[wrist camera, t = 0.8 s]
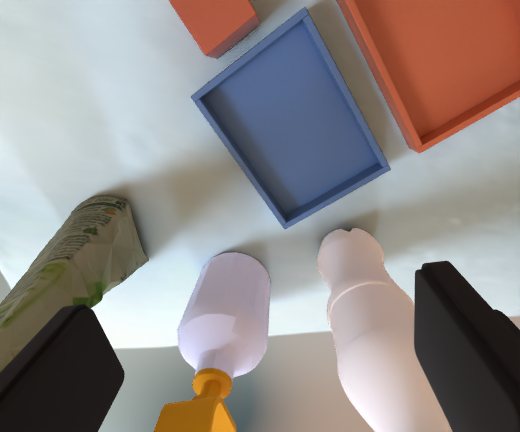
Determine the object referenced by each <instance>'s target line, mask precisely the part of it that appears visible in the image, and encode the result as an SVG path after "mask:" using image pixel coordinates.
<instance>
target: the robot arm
mask: <svg viewBox="0 0 520 432" xmlns="http://www.w3.org/2000/svg"><path fill="white" fill-rule="evenodd" d="M414 349H415V353H416V356H417V359H418V361H419V363H420V365H421V367H422V369H423V371H424V373H425V375H426V377H427V380H428V382H429V384H430V386H431V388H432V390H433V392H434V394H435V396H436V398H437V400H438V402H439V404H440V406H441V408H442V410H443V412H444V415H445V417H446V419H447V421H448V423H449V425H450V427H451V429H452V431H453V432H520V330H519V329H518V328H517V327H516V326H515V324H513V322H512V321H511V320H510V319H509V318H508V317H507V316H506V315H505V314H503V313H502V312H501V311H498V310H493V309H492V308H491V307H490V306H489V305H488V303H487V302H486V301H485V300H484V299H483V298H482V297H481V296H480V295H479V294H478V293H477V291H476V290H475V289H474V288H473V287H472V286H471V285H470V284H469V283H468V282H467V280H466V279H465V278H464V277H463V276H462V275H461V274H460V273H459V272H458V271H457V270H456V268H455V267H454V266H453V265H452V264H451V263H450V262H449V261H440V262H432V263H424V264H423V265H422V269H421V270H416V272H415V309H414ZM123 381H124V370H123V368H122V366H121V364H120V362H119V360H118V358H117V356H116V354H115V352H114V350H113V348H112V346H111V344H110V342H109V340H108V338H107V337H106V335H105V333H104V331H103V329H102V327H101V325H100V323H99V321H98V319H97V317H96V315H95V313H94V311H93V310H92V309H89V307H88V306H86V305H84V304H80V305H71V306H65V307H62V308H61V309H60V310H59V311H58V312H57V313H56V314H55V315H54V316H53V317H52V318H51V319H50V320H49V321H48V322H47V324H46V325H45V326H44V327H43V328H42V329H41V330H40V331H39V332H38V333H37V334H36V335H35V336H34V337H33V338H32V339H31V340H30V342H29V343H28V344H27V345H26V346H25V347H24V348H23V349H22V350H21V351H20V352H19V353H18V354H17V355H16V356H15V357H14V358H13V359H12V361H11V362H10V363H9V364H8V365H7V366H6V367H5V368H4V369H3V370H2V371H1V372H0V432H98V430H99V428H100V426H101V424H102V422H103V421H104V418H105V416H106V415H107V413H108V411H109V409H110V407H111V405H112V403H113V401H114V399H115V397H116V395H117V393H118V391H119V389H120V387H121V385H122V383H123Z"/></svg>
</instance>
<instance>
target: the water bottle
mask: <svg viewBox="0 0 520 432" xmlns="http://www.w3.org/2000/svg"><path fill="white" fill-rule="evenodd" d="M317 267H318V271H319V273H320V275H321V277H322V278H323V280H324V281H325V282H326V283H327V285H328V287H329V288H330V290H331V295H330V297H329V299H328V304H327V319H328V324H329V327H330V329H331V331H332V334H333V340H334V345H335V350H336V355H337V360H338V363H337V371H338V374H339V378H340V382H341V384H342V386H343V389H344V391H345V393H346V395H347V396H348V398H349V399H350V401H351V402H352V404H353V405H354V407H355V408H356V409H357V411H358V412H359V413H360V414H361V416H362V417H363V418H364V419H365V421H366V422H367V423H368V424H369V425H370V426H371V428H372V429H373V430H374V431H375V432H449V423H448V421H447V419H446V417H445V415H444V412H443V410H442V408H441V406H440V404H439V402H438V400H437V398H436V396H435V394H434V392H433V390H432V388H431V386H430V384H429V382H428V380H427V377H426V375H425V373H424V371H423V369H422V367H421V365H420V363H419V361H418V359H417V356H416V353H415V349H414V309H415V306H414V303H413V301H412V299H411V298H410V297H409V296H408V295H407V294H406V293H405V292H404V291H403V290H402V289H401V288H400V287H399V286H398V285H397V284H396V283H395V282H394V281H393V280H392V279H391V277H390V276H389V274H388V273H387V271H386V270H385V267H384V253H383V250H382V248H381V246H380V245H379V243H378V242H377V241H376V239H375V238H373V237H372V236H371V235H370V234H369V233H367V232H365V231H363V230H361V229H358V228H352V230H351V231H350V232H347V231H345V230H343V229H337V230H334V231H332V232H330V233H329V234H328V235H327V236H326V237H325V238H324V239H323V241H322V243H321V246H320V250H319V253H318V256H317Z"/></svg>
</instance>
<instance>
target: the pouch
mask: <svg viewBox="0 0 520 432" xmlns="http://www.w3.org/2000/svg"><path fill="white" fill-rule="evenodd" d="M147 261H149V258H148V257H147V256H146V255H145V254H144V253H143V250H142V247H141V244H140V241H139V237H138V234H137V231H136V228H135V225H134V222H133V217H132V212H131V207H130V205H129V203H128V202H127V200H126V199H121V198H117V197H113V196H98V197H92V198H90V199H88V200H86V201H84V202H82V203H81V204H80V205H78V206H77V207H76V208H75V210H74V211H72V212H71V215H70V216H69V218H68V219H67V220H66V221H65V223H64V224H63V225H62V227H61V228H60V229H59V230H58V231H57V233H56V234H55V235H54V237H53V238H52V239H51V240H50V241H49V242H48V244H47V245H46V246H45V248H44V249H43V250H42V251H41V252H40V253H39V255H38V256H37V258H36V259H35V260H34V262H33V263H32V264H31V266H30V268H29V269H28V271H27V272H26V273H25V274H24V275H23V276H22V278H21V279H20V280H19V281H18V283H17V284H16V285H15V287H14V288H13V289H12V290H11V292H10V293H9V294H8V296H7V297H6V298H5V299H4V300H3V301H2V302H1V304H0V372H1V371H2V370H3V369H4V368H5V367H6V366H7V365H8V364H9V363H10V362H11V361H12V359H13V358H14V357H15V356H16V355H17V354H18V353H19V352H20V351H21V350H22V349H23V348H24V347H25V346H26V345H27V344H28V343H29V342H30V340H31V339H32V338H33V337H34V336H35V335H36V334H37V333H38V332H39V331H40V330H41V329H42V328H43V327H44V326H45V325H46V324H47V322H48V321H49V320H50V319H51V318H52V317H53V316H54V315H55V314H56V313H57V312H58V311H59V310H60V309H61V308H62V307H65V306H71V305H80V304H84V305H86V306H88V307H89V309H90V308H92V307H93V306H95V305H96V304H98V303H99V302H100V301H101V300H102V298H103V295H104V294H105V293H106V292H108V291H110V290H111V289H112V288H114V287H115V286H117V285H119V284H120V283H122V282H123V281H124V280H126V279H127V278H128V277H129V276H130V275H131V274H132V273H134V272H135V271H136V270H137V269H138V268H140V267H141V266H142V265H144V264H145V263H146V262H147Z"/></svg>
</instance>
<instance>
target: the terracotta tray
mask: <svg viewBox="0 0 520 432" xmlns="http://www.w3.org/2000/svg"><path fill="white" fill-rule="evenodd" d="M337 2H338V4H339V6H340V8H341V10H342V12H343V14H344V16H345V18H346V20H347V22H348V24H349V26H350V28H351V30H352V32H353V35H354V37H355V39H356V41H357V43H358V45H359V47H360V49H361V51H362V53H363V55H364V57H365V59H366V61H367V63H368V65H369V67H370V69H371V71H372V73H373V75H374V77H375V79H376V81H377V83H378V85H379V87H380V89H381V91H382V94H383V96H384V98H385V100H386V102H387V104H388V106H389V108H390V110H391V112H392V114H393V116H394V118H395V120H396V122H397V124H398V126H399V128H400V130H401V132H402V134H403V136H404V138H405V140H406V142H407V144H408V146H409V148H410V149H412V150H414V151H416V152H418V153H421V152H423V151H425V150H426V149H428V148H430V147H432V146H434V145H435V144H437V143H439V142H441V141H442V140H444V139H446V138H448V137H449V136H451V135H453V134H455V133H457V132H458V131H460V130H462V129H464V128H465V127H467V126H469V125H471V124H472V123H474V122H476V121H478V120H480V119H481V118H483V117H485V116H487V115H488V114H490V113H492V112H494V111H495V110H497V109H499V108H501V107H503V106H504V105H506V104H508V103H510V102H511V101H513V100H515V99H517V98H518V97H520V0H337Z"/></svg>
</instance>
